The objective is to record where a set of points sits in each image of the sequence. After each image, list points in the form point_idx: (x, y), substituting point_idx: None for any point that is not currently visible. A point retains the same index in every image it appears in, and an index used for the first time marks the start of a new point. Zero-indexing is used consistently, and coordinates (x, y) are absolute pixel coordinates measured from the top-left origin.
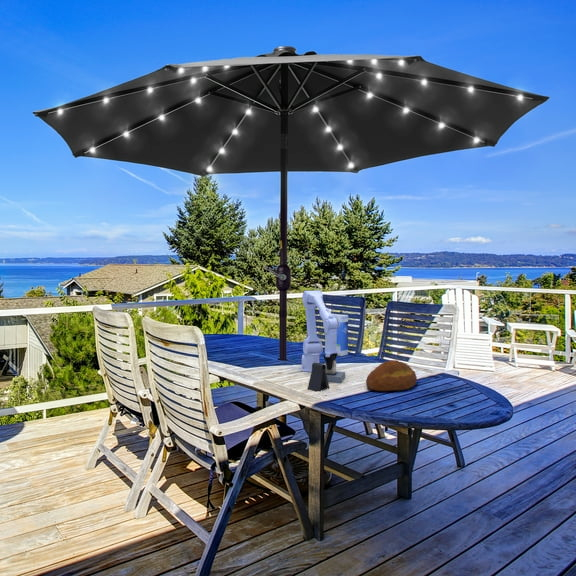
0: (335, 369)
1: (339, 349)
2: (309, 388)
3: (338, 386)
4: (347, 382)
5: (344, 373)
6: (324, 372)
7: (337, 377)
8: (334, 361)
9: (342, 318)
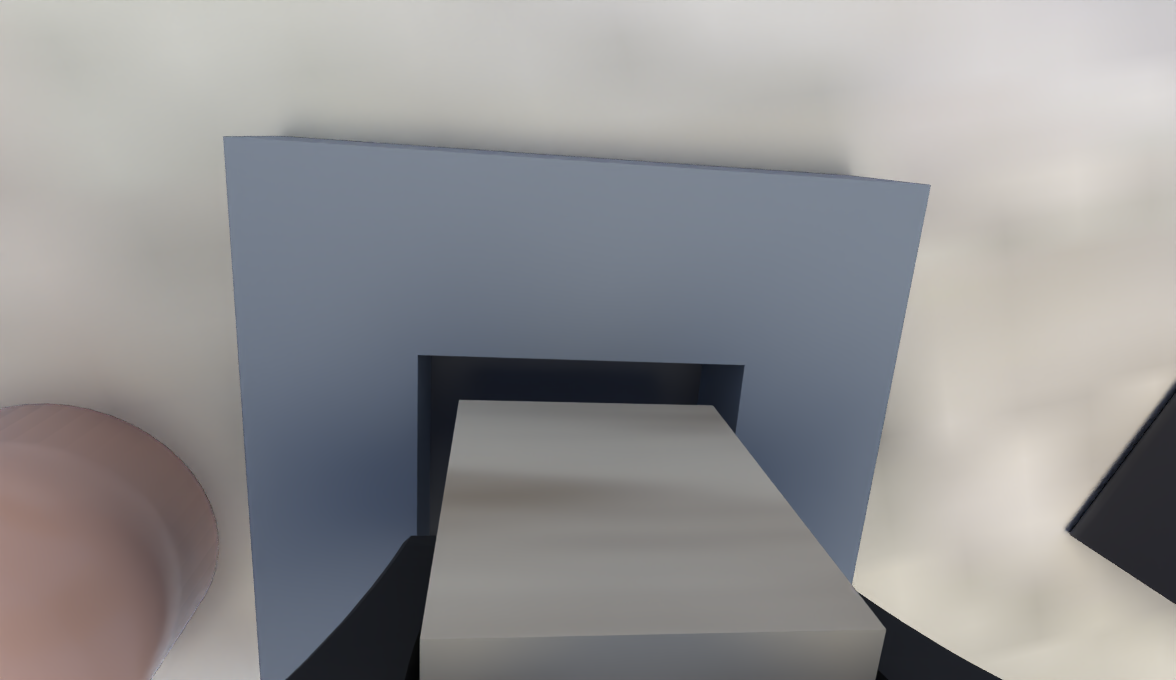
0: (546, 437)
1: None
2: None
3: (1089, 187)
4: (732, 24)
5: (366, 145)
6: None
7: (906, 272)
8: (779, 645)
9: None
